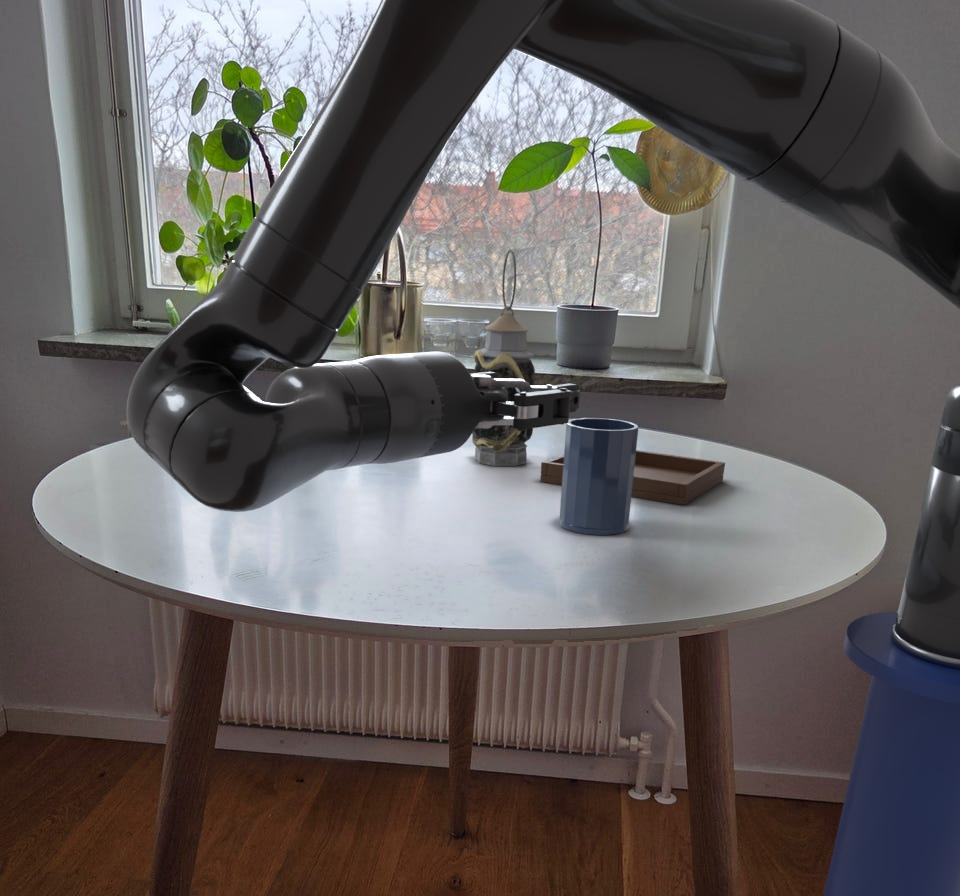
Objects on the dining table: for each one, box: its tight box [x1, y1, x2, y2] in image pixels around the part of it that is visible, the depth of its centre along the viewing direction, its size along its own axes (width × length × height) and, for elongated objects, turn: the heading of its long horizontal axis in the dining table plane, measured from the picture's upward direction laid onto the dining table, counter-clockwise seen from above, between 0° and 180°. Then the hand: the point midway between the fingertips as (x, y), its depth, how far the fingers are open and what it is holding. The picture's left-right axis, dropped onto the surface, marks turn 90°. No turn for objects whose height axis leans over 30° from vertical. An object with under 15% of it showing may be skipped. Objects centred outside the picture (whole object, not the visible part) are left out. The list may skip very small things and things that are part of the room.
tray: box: [539, 449, 726, 506], centre depth 111 cm, size 18×15×2 cm
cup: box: [559, 417, 639, 536], centre depth 91 cm, size 7×7×10 cm
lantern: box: [471, 249, 536, 467], centre depth 115 cm, size 9×8×25 cm
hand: (534, 390), depth 80 cm, fingers open, 8 cm apart
